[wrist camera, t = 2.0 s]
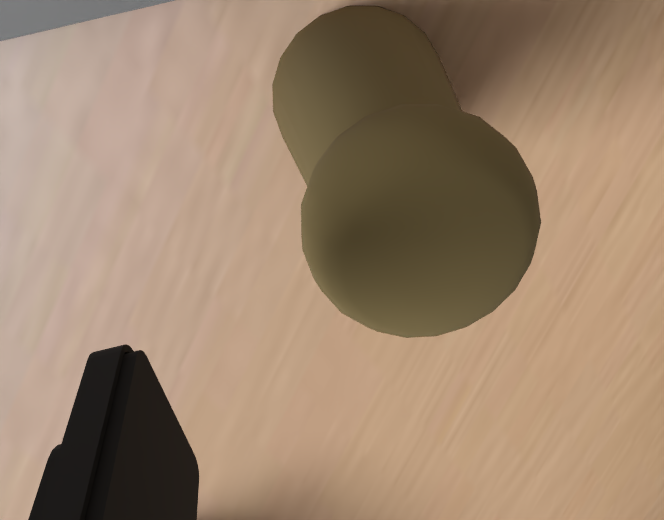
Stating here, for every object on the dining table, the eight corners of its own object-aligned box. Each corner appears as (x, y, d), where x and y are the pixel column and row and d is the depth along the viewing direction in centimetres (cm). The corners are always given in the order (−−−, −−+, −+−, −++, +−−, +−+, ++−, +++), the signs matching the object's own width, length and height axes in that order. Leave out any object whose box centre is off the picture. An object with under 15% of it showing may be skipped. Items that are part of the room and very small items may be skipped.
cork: (239, 59, 20) (224, 213, 11) (405, -31, 19) (542, 55, 10) (320, 203, 23) (361, 417, 14) (466, 131, 23) (614, 310, 13)
